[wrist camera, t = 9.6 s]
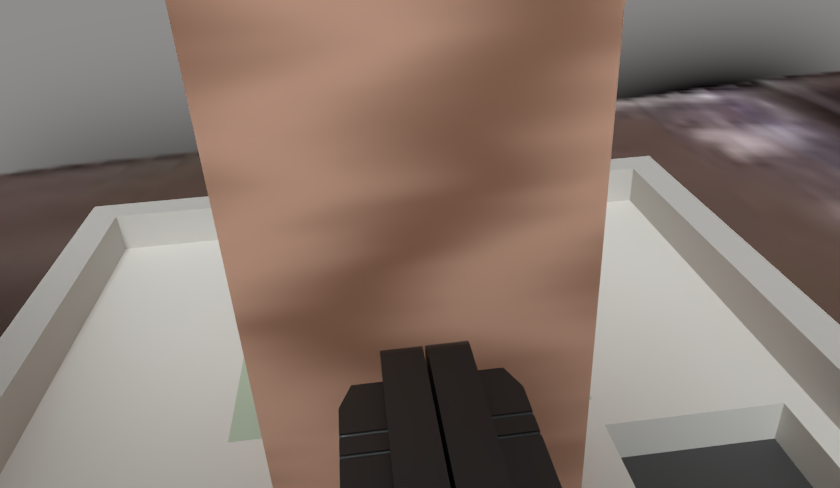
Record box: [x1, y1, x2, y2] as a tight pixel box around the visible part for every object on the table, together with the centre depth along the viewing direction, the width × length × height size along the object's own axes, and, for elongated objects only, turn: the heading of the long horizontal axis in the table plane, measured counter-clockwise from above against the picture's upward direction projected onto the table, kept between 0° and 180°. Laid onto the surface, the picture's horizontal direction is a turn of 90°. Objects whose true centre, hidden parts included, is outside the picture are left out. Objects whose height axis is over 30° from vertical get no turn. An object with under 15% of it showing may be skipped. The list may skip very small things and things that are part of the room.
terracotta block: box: [165, 0, 625, 488], centre depth 19 cm, size 7×13×12 cm, turn 6°
